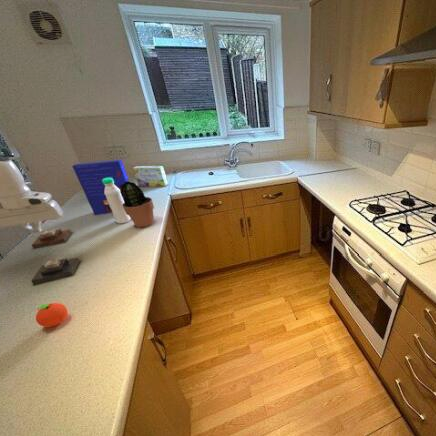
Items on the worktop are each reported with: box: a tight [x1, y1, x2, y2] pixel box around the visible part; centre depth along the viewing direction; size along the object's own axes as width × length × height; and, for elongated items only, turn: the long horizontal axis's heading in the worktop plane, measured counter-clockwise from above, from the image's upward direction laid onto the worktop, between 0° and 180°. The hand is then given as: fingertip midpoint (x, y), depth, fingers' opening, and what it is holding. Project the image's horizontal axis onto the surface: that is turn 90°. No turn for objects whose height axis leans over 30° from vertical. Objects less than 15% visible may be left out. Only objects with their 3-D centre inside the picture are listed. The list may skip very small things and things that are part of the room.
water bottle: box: [102, 178, 132, 224], centre depth 130 cm, size 7×7×25 cm
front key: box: [44, 258, 61, 269], centre depth 95 cm, size 4×4×2 cm
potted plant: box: [121, 181, 155, 228], centre depth 126 cm, size 14×14×25 cm
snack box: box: [132, 165, 169, 187], centre depth 183 cm, size 21×6×15 cm, turn 88°
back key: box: [42, 228, 57, 236], centre depth 116 cm, size 4×4×2 cm
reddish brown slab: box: [31, 228, 73, 250], centre depth 118 cm, size 12×10×4 cm
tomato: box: [35, 302, 68, 328], centre depth 74 cm, size 8×7×7 cm
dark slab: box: [30, 257, 81, 286], centre depth 96 cm, size 12×10×4 cm
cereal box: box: [72, 158, 130, 216], centre depth 142 cm, size 22×6×30 cm, turn 111°
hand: (36, 231), depth 95 cm, fingers closed
